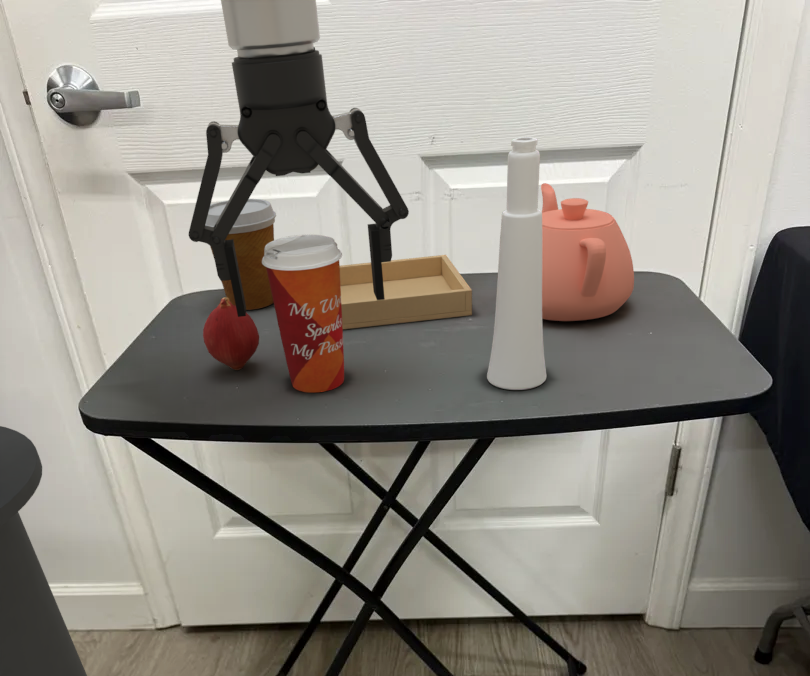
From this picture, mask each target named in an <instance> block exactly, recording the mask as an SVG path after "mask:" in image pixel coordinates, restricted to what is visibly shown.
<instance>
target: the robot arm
mask: <svg viewBox="0 0 810 676" xmlns="http://www.w3.org/2000/svg"><path fill="white" fill-rule="evenodd" d="M220 3H221V4H220V5H221V9H222V15H223V21H224V26H225V33H226V37H227V38H226V40H227V44H228V47H229V48H230V49H231V50H235V51H236V52H237V56H236V57H234V58H233V61H232V62H231V69H232V73H233V79H234V86H235V91H236V97H237V103H238V108H239V115H240V116H239V118H240V119H239V122H238V124H220V123H219V122H218V121H215V120H213V121H211V122H209V123H208V124H207V127H206V129H205V137H206V148H207V158H206V162H205V165H204V170H203V174H202V178H201V182H200V185H199V190H198V193H197V197H196V201H195V205H194V210H193V213H192V218H191V221H190V226H189V229H188V238H189V239H190V240H191V241H192V242H193V243H198V242H200V243H204V244H206V245H208V246H209V247H210V246H211V247H210V249H211V248H212V250H213V254H212V256H213V255H214V257H213V260H214V264H215V269H216V273H217V277H218V279H219V280H220V282H221V281H226V280H231V284H232V289H233V294H234V299H235V304H236V309H237V314H238V317H241V316H246V313H247V310H246V304H245V299H244V293H243V288H242V283H241V278H240V272H239V267H238V262H237V257H236V251H235V246H234V241H233V239H231V240H225V239H226V237H227V236H228V234H229V232H230V230H231V229H232V227H233V225H234V224H235V222H236V220H237V218H238V217H239V215H240V213H241V211H242V210H243V208H244V206H245V204H246V203H247V201H248V199H250V198H251V195H252V194H253V192H254V190H255V189H256V187H257V186H258V184H259V182H260V181H261V179H262V177H264V174H265V173H266V172H267V173H268V174H271V175H274V176H275V177H281V176H286V175H289V174H291V173H297V174H311V171H314V170H315V169H316V168H317V167H318V166H319V167H320V168H321V169H322V170H323V171H324V172H325V173H326V174H327V175H328V176H329V177H330V178H332V179H333V181H334V182H336V184H337V185H338V186H339V187H340V188H341V189H342V190H343V191H344V192H345V193H346V195H348V196H349V198H351V199H352V200H353V201H354V202H355V204H356V205H357V206H358V207H360V209H362V211H363V212H364V213H365V214H366V215H367V216H368V217H369V218H370V219H371V220H372V221H373V222H374V223H368V224H367V235H368V243H369V253H370V254H369V255H370V257H369V258H370V262H371V268H372V279H373V290H374V294H375V296H376V299H377V300H384V299H385V298H384V286H383V274H382V262H390V261H391V260H392V258H393V249H392V248H393V247H392V235H391V234H392V233H391V228H392V226H393V224H394V223H396V222H398V221H400V220H405V219H407V218H408V217H409V213H410V211H409V208H408V206H407V204H406V203H405V201H404V199H403V197H402V195H401V194H400V191H399V190H398V188H397V186H396V185H395V183H394V181H393V179H392V177H391V175H390V173H389V171H388V170H387V168H386V166H385V164H384V162H383V161H382V159H381V157H380V155H379V153H378V152H377V150H376V148H375V147H374V144H373V142H372V141H371V139H370V135H369V131H368V125H367V120H366V116H365V113H363V111H362V110H361V109H360V108H358V107H352V108H351V109H350V110H349V111H347V112H343V113H338V114H334V115H332V114H331V112H330V109H329V105H328V99H327V92H326V91H327V90H326V88H327V87H326V81H325V72H324V63H323V55H322V54H321V53H320V51H319V50H317V49H316V47H315V46H314V44H315V43H318V41H319V40H320V39H321V35H320V26H319V17H318V8H317V0H220ZM337 130H340V131H341V132H342V133H343V135H344V137H345V138H346V139H347V140H350V141H353V140H354V143H355V146H356V147H357V149H358V151H359V152H360V154H361V156H362V158H363V159H364V161H365V163H366V165H367V167H368V169H369V171H370V172H371V174H372V175H373V177H374V179H375V180H376V183H377V184H378V186H379V188H380V190H381V191H382V193H383V195H384V197H385V198H386V200H387V202H388V203H389V205H387V206H385V207H384V208H383V207H382V206H381V205H380V204H379V203H378V202H377V201H376V200H375V199H374V198H373V197H372V196H371V194H370V193H368V192H367V190H366V189H364V187H363V186H362V185H361V184H360V183H359V182H358V181H357V180H356V179H355V178H354V176H352V174H351V173H350V172H349V171H348V170H346V167H344V166H343V165H342V164H341V163H340V162H339V161H338V160H337V159H336V157H335V156H334V155H333V154H332V153H331V152H330V151H329V150H328V147H329V145H330V143H331V141H332V139H333V137H334V135H335V133H336V131H337ZM236 140H239V142H240V143H241V144H242V145H243V146H244V148H245V149H246V150H247V151H248V152H249V153H250V155H252V157H251V159H250V160H249V163H248V164H247V166H246V168H245V171H244V172H243V174H242V176H241V178H240V179H239V181H238V183H237V185H236V186H235V188H234V190H233V192H232V194H231V195H230V197H229V199H228V200H229V201H228V200H227V201H228V202H227V204H226V206H225V208H224V210H223V211H222V213H221V215H220V217H219V218H218V220H217V222H216V224H215V225H214V227H210V226H206V225H205V224H206V220H207V216H208V212H209V208H210V204H212V201H213V200H212V199H213V197H214V193H215V189H216V185H217V181H218V177H219V173H220V170H221V165H222V160H223V155H224V154H225V153H228V152H230V151H231V149H232V145H233V143H234V141H236ZM212 250H211V251H212Z"/></svg>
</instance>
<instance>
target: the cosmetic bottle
mask: <svg viewBox="0 0 810 676" xmlns="http://www.w3.org/2000/svg"><path fill="white" fill-rule="evenodd" d="M510 142H511V143H510V146H511V147H512V149H511V150H510V151H509V152H508V154H507V169H506V170H507V174H506V209H505V210H503V211H502V214H501V219H500V220H501V221H500V233H499V234H500V235H499V246H498V247H499V249H498V265H497V282H496V298H495V314H494V325H493V335H492V344H491V351H490V357H489V364H488V369H487V374H486V379H487V381H488V383H490V384H491V385H492V386H494V387H496V388H499V389H502V390H503V389H504V390H510V391H523V390H530V389H534V388H536V387H539V386H541V385H542V384H543V383H545V382H546V380H547V377H548V376H547V367H546V361H545V351H544V350H545V349H544V333H543V319H542V209H539V208H538V207H539V190H540V189H539V187H540V185H539V184H540V163H541V153H540V151H539V150H538V149H536V147H537V145H538V138H536V137H533V136H520V137H514V138H513V139H511V140H510Z"/></svg>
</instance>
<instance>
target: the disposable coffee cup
mask: <svg viewBox="0 0 810 676" xmlns="http://www.w3.org/2000/svg"><path fill="white" fill-rule="evenodd" d="M228 201H229V199H228V200H223V201H218V202H214V203H211V204H210V208H209V212H208V216H207V220H206V224H205V225H206V226H210V227H214V225H215V224H216V222H217V220H218V218H219V217H220V215H221V213H222V211H223V210H224V208H225V206H226V204H227V202H228ZM276 217H277V213H276V211H274V209H273V206H272V203H271V201H269V200H266V199H261V198H249V199H248V201H247V203H246V204H245V206H244V208H243V210H242V211H241V213H240V215H239V217H238V218H237V220H236V222H235V224H234V225H233V227H232V229H231V230H230V232H229V234H228V236H227V237H226V239H225V240H231V239H233V241H234V246H235V251H236V257H237V262H238V267H239V272H240V278H241V283H242V288H243V293H244V299H245V304H246V311H251V310H258V309H262V308H266V307H269V306H270V305H272V304H273V305H274V302H273V297H272V293H271V288H270V283H269V278H268V274H267V269H266V267H265V266H264V265H263V264H262V258H263V257H264V248H265V246H266V245H267V244H268V243H269V242H271V241H274V240H275V225H274V223H275V221H276ZM209 248H210V250H211V254H212V256H213V258H214V255H213V250H212V248H211V246H210V245H209ZM220 282H221V284H222V288H223V291H224V294H225V297H226V298H229V301H230V302H231V303H232V304H233V305H235V306H236V304H235V299H234V294H233V289H232V284H231V280H226V281H221V280H220Z"/></svg>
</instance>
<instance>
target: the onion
mask: <svg viewBox="0 0 810 676" xmlns="http://www.w3.org/2000/svg"><path fill="white" fill-rule="evenodd" d="M202 338H203V343H204V345H205V347H206V349H207V352H208V353H209V355H211V357H212V358H213V359H215V360H216V361H218V362H219V363H221V364H223V365H224V366H227V367H229V368H230V369H232V370H234V371H239V370H242V369H243V368H244V367H245V365H246V364H247V363H248V362H249V360H250V359H251V358H252V357H253V356H254V354H255V353H256V352H257V350H258V347H259V345H260V334H259V330H258V327H257V324H256V323H255V321H254V319H253V318H252V316H251V315H250V314H249V313H248V312H246V316H241V317H238V314H237V309H236V306H235V305H233V304H232V303H231V302H230V301H229V298H227V297H226V296H225V297H222V298H221V299H220V301H219V303H218V305H217V307H215V308H214V309H213V310H212V311H210V314H209V315H208V317H207V319H206V321H205V322H204V325H203V329H202Z"/></svg>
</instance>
